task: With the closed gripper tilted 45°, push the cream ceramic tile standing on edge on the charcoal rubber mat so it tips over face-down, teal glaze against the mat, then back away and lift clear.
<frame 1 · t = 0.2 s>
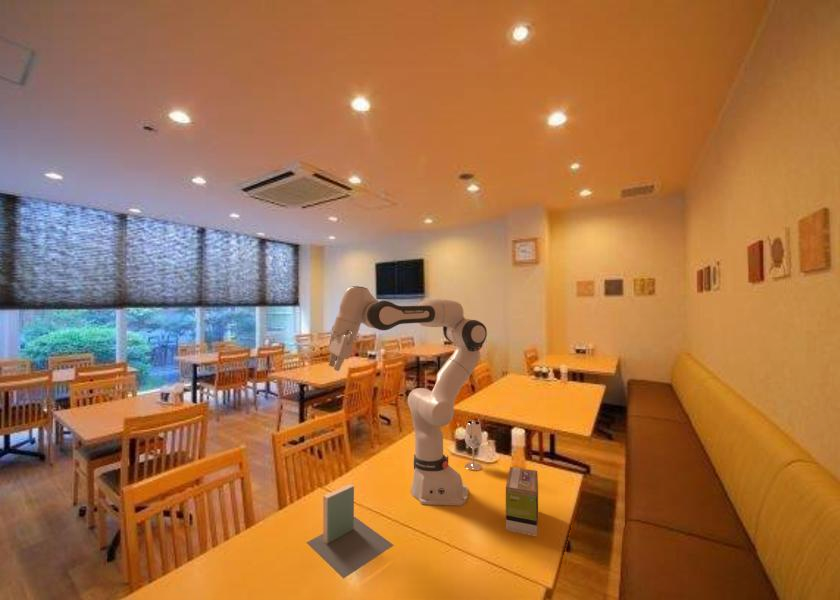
hand: (333, 368, 122), 51 cm above the table, tool tilted 20°, fingers open, 8 cm apart
slate mat: (349, 545, 108), on the table
glazed tile: (338, 534, 112), resting on slate mat
tea box: (522, 521, 121), on the table
wineglass: (473, 467, 160), on the table
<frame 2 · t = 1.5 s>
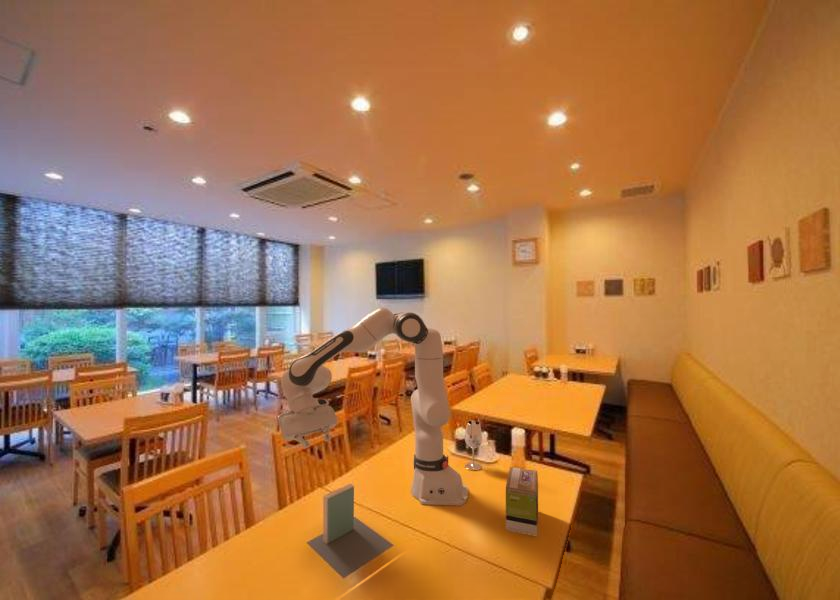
hand: (317, 443, 122), 26 cm above the table, tool tilted 45°, fingers open, 7 cm apart
nothing on the table moved.
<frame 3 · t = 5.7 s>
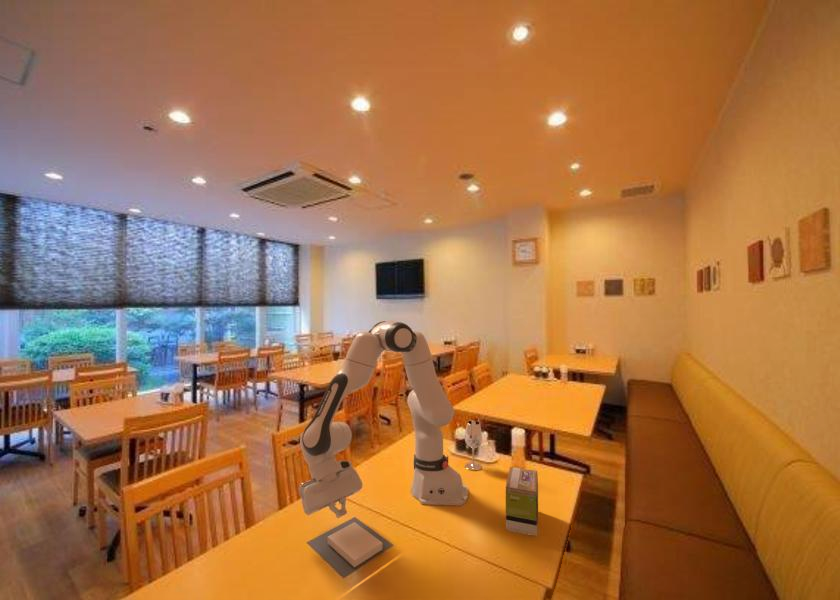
hand: (342, 515, 111), 7 cm above the table, tool tilted 45°, fingers closed
glazed tile: (341, 532, 111), point 2 cm above the table, tilted 90°, touching slate mat
everything else where it was.
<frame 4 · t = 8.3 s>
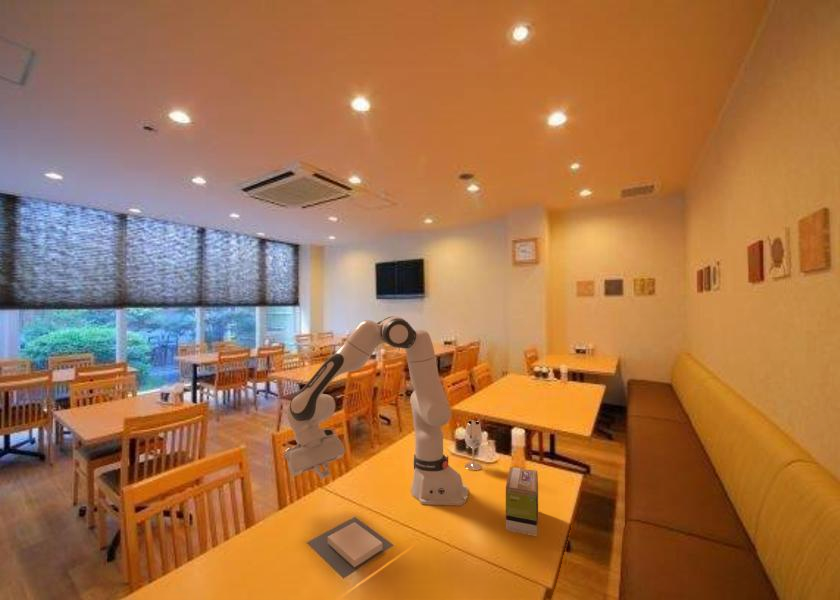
hand: (325, 476, 121), 14 cm above the table, tool tilted 45°, fingers closed
nothing on the table moved.
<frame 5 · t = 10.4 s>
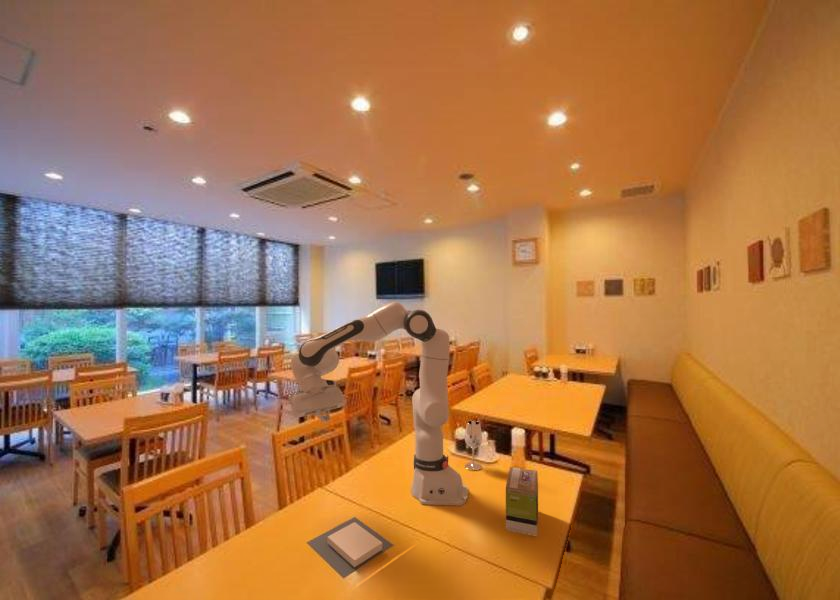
hand: (326, 421, 127), 31 cm above the table, tool tilted 45°, fingers closed
nothing on the table moved.
at the end: glazed tile tilted 90°; glazed tile inside the target area on the slate mat (0.6 cm from its centre), point 1.9 cm above the slate mat's base; glazed tile touching slate mat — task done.
